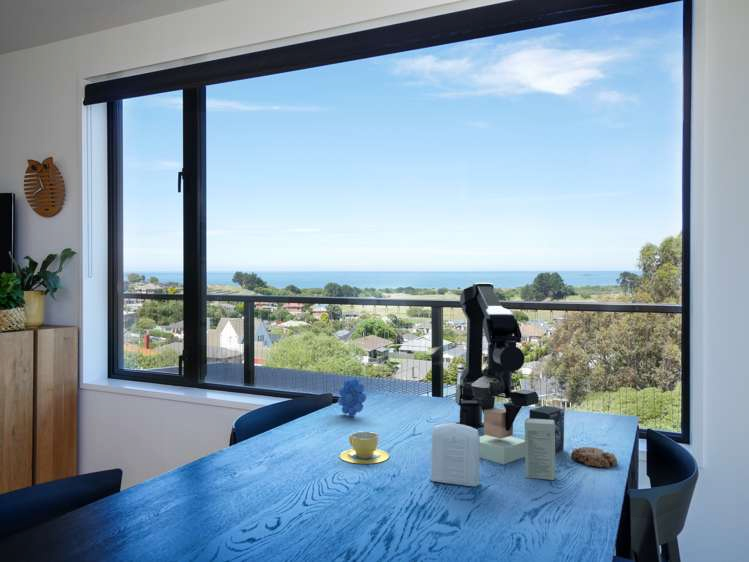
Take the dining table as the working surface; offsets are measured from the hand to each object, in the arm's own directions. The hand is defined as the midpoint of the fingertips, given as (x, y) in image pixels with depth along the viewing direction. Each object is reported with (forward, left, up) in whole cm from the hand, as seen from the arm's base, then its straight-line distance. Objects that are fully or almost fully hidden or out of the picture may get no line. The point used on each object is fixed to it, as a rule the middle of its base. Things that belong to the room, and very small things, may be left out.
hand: (498, 428), depth 147 cm
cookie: (-13, +18, -7) cm, 23 cm away
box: (-12, +6, -7) cm, 15 cm away
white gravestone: (+23, +5, -7) cm, 24 cm away
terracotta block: (0, 0, -2) cm, 2 cm away
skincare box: (+6, +15, -7) cm, 17 cm away
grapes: (0, -53, -7) cm, 53 cm away
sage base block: (0, 0, -7) cm, 7 cm away
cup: (+25, -21, -7) cm, 33 cm away
